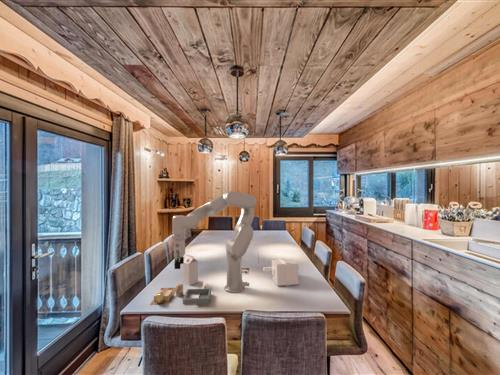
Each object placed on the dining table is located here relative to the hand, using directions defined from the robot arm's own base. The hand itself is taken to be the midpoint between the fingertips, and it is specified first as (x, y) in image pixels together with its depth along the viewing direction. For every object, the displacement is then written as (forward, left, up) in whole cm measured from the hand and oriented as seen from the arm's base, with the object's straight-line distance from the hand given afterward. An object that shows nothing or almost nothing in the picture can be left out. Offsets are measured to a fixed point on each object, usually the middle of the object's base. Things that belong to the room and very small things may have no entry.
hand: (179, 266), depth 151 cm
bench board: (+8, 0, -18) cm, 20 cm away
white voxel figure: (-65, -24, -18) cm, 72 cm away
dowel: (0, 0, -18) cm, 18 cm away
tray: (-11, +4, -18) cm, 22 cm away
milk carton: (-3, -20, -18) cm, 27 cm away
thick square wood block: (+8, +3, -17) cm, 19 cm away
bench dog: (+8, +9, -17) cm, 21 cm away
